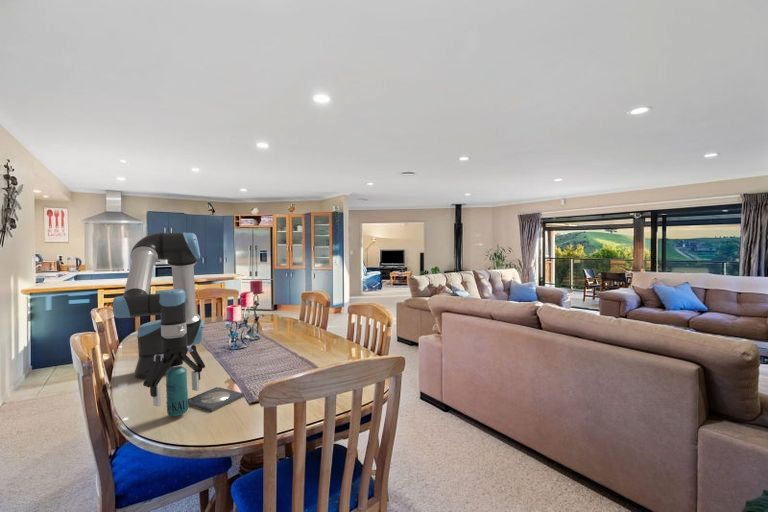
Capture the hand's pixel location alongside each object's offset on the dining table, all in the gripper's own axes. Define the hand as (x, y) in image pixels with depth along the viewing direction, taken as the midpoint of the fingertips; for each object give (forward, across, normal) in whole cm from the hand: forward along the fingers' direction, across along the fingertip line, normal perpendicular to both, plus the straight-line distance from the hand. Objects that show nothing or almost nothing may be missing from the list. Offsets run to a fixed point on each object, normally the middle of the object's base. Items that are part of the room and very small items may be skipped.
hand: (177, 397), depth 126 cm
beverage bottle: (+7, 0, 0) cm, 7 cm away
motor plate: (+6, +14, -1) cm, 16 cm away
